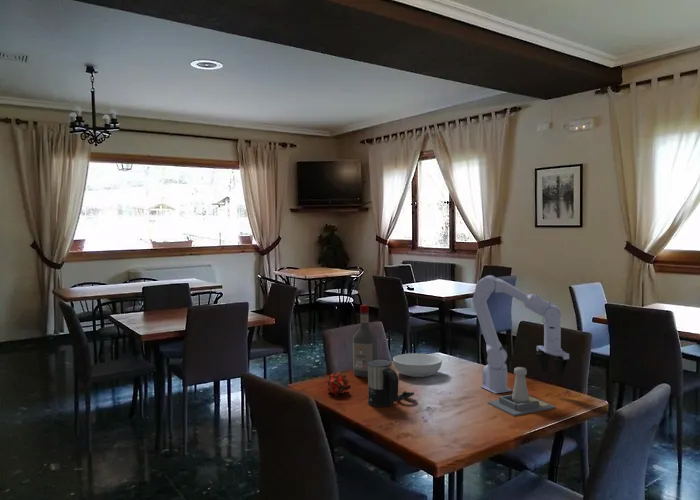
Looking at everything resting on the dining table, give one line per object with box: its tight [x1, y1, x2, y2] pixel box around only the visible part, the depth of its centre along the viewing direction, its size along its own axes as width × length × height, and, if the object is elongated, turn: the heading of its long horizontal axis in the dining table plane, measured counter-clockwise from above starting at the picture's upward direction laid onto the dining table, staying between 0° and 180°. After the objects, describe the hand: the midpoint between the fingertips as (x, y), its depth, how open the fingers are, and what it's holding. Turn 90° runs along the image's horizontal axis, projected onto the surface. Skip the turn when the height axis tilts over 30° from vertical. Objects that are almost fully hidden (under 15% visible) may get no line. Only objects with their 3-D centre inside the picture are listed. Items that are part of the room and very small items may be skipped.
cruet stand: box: [487, 393, 557, 417], centre depth 184 cm, size 14×18×3 cm
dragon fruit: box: [326, 371, 352, 396], centre depth 202 cm, size 8×8×12 cm
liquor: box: [352, 304, 378, 378], centre depth 226 cm, size 9×9×30 cm
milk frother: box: [367, 359, 415, 408], centre depth 191 cm, size 14×16×15 cm
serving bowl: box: [392, 352, 443, 378], centre depth 225 cm, size 21×21×7 cm
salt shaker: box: [512, 366, 530, 404], centre depth 184 cm, size 6×6×13 cm
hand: (552, 374), depth 194 cm, fingers open, 7 cm apart
